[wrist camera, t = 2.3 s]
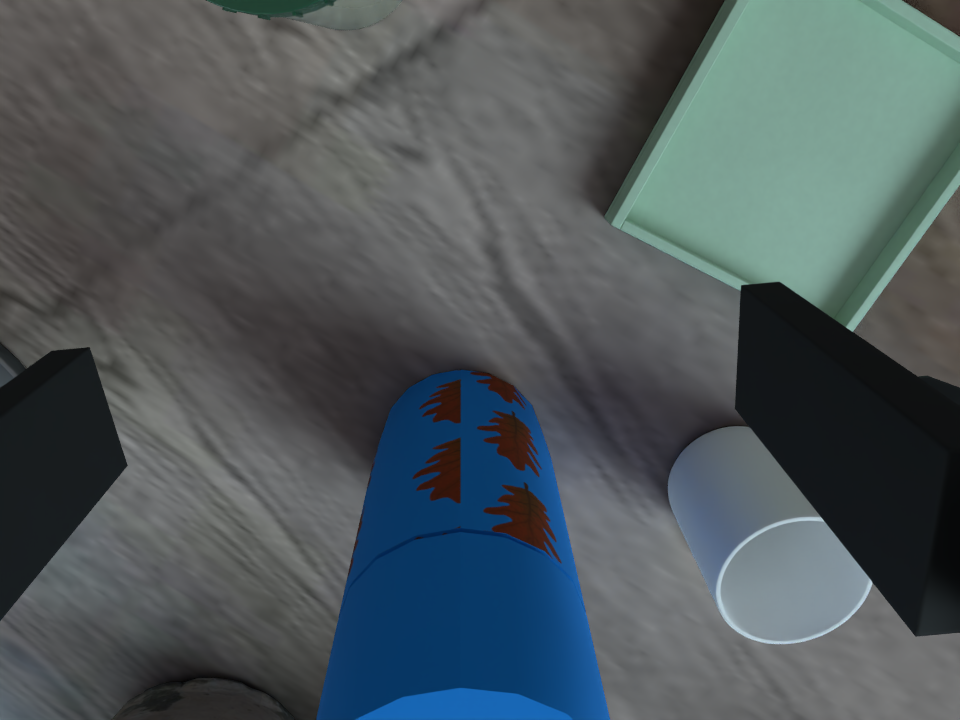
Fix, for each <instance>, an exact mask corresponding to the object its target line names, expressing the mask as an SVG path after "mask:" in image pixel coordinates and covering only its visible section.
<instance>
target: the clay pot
mask: <svg viewBox="0 0 960 720" xmlns="http://www.w3.org/2000/svg"><path fill="white" fill-rule="evenodd" d="M112 720H295V719H294V718H293V717H292V715H291V714H290V713H289V712H288V711H287V710H286V709H285V708H284V707H283V706H282V705H281V704H280V703H279V702H278V701H276V700H275V699H274V698H272V697H271V696H269V695H267V694H266V693H264V692H262V691H258V690H255V689H252V688H249V687H248V686H246V685H245V684H243V683H241V682H239V681H233V680H227V679H222V678H197V679H193V680H190V681H187V682H185V683H181V682H169V683H165V684H161V685H158V686H156V687H153V688H151V689H148V690H146V691H145V692H144V693H143V694H140V695H138V696H136V697H135V698H133V699H131V700H130V701H128V702H127V703H126V705H125V706H124V707H123V708H122V709H121V710H120V711H119V712H118V713H117V714H116V715H115V716H114V718H113V719H112Z"/></svg>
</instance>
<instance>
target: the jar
mask: <svg viewBox="0 0 960 720" xmlns="http://www.w3.org/2000/svg"><path fill="white" fill-rule="evenodd" d="M402 1H403V0H336V1H335V2H333V3H334V6H329V5H328V6H325V7H323V8H321V9H319V10H317V11H313V12H310V13H307V14H303V18H299V17H296V16H291V17H283V18H287V19H292V20H296V21H300V22H304V23H308V24H312V25H316V26H320V27H325V28H329V29H335V30H356V29H361V28H365V27H368V26H371V25H373V24H375V23H377V22H379V21H381V20H382V19H384V18H385V17H387V16H388V15H389V14H390V13H392V12H393V11H394V10H395V9H396V8H397V7H398V5H399V4H400V3H401V2H402Z"/></svg>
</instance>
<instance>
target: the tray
mask: <svg viewBox="0 0 960 720" xmlns="http://www.w3.org/2000/svg"><path fill="white" fill-rule="evenodd" d="M959 185H960V37H959V36H958V35H956V34H954V33H953V32H951V31H950V30H948V29H946V28H945V27H943V26H942V25H940V24H939V23H937V22H935V21H934V20H932V19H931V18H929V17H928V16H926V15H924V14H923V13H921V12H920V11H918V10H916V9H915V8H913V7H912V6H910V5H909V4H907V3H905V2H904V1H902V0H725V1H724V3H723V5H722V7H721V8H720V10H719V12H718V14H717V16H716V17H715V19H714V21H713V23H712V24H711V26H710V28H709V30H708V32H707V33H706V35H705V37H704V39H703V41H702V42H701V44H700V46H699V48H698V50H697V51H696V53H695V55H694V57H693V58H692V60H691V62H690V64H689V66H688V67H687V69H686V71H685V73H684V75H683V76H682V78H681V80H680V82H679V84H678V85H677V87H676V89H675V91H674V93H673V94H672V96H671V98H670V100H669V101H668V103H667V105H666V107H665V109H664V110H663V112H662V114H661V116H660V118H659V119H658V121H657V123H656V125H655V127H654V128H653V130H652V132H651V134H650V135H649V137H648V139H647V141H646V143H645V144H644V146H643V148H642V150H641V152H640V153H639V155H638V157H637V159H636V161H635V162H634V164H633V166H632V168H631V170H630V171H629V173H628V175H627V177H626V178H625V180H624V182H623V184H622V186H621V187H620V189H619V191H618V193H617V195H616V196H615V198H614V200H613V202H612V204H611V205H610V207H609V209H608V211H607V212H606V214H605V216H604V218H605V219H606V220H607V221H608V222H609V223H610V225H612V226H614V227H616V228H618V229H620V230H622V231H624V232H625V233H627V234H629V235H631V236H633V237H635V238H637V239H639V240H641V241H643V242H645V243H647V244H649V245H651V246H653V247H655V248H657V249H659V250H661V251H663V252H665V253H667V254H669V255H671V256H673V257H675V258H677V259H679V260H681V261H683V262H684V263H686V264H688V265H690V266H692V267H694V268H696V269H698V270H700V271H702V272H704V273H706V274H708V275H710V276H712V277H714V278H716V279H718V280H720V281H722V282H724V283H726V284H728V285H730V286H732V287H734V288H736V289H738V290H740V291H741V285H748V284H759V283H769V282H781V283H782V284H784V285H785V286H787V287H788V288H790V289H791V290H793V291H794V292H795V293H797V294H798V295H800V296H801V297H803V298H804V299H806V300H807V301H808V302H810V303H811V304H813V305H814V306H816V307H817V308H819V309H820V310H822V311H823V312H824V313H826V314H827V315H829V316H830V317H832V318H833V319H835V320H836V321H838V322H839V323H840V324H842V325H843V326H845V327H846V328H848V329H849V330H851V331H852V332H853V331H854V329H855V328H856V326H857V325H858V324H859V322H860V321H861V320H862V318H863V317H864V315H865V314H866V313H867V311H868V310H869V309H870V307H871V306H872V305H873V303H874V302H875V300H876V299H877V298H878V296H879V295H880V294H881V292H882V291H883V289H884V288H885V287H886V285H887V284H888V283H889V281H890V280H891V278H892V277H893V276H894V274H895V273H896V272H897V270H898V269H899V267H900V266H901V265H902V263H903V262H904V261H905V259H906V258H907V256H908V255H909V254H910V252H911V251H912V250H913V248H914V247H915V245H916V244H917V243H918V241H919V240H920V239H921V237H922V236H923V234H924V233H925V232H926V230H927V229H928V228H929V226H930V225H931V223H932V222H933V221H934V219H935V218H936V217H937V215H938V214H939V212H940V211H941V210H942V208H943V207H944V206H945V204H946V203H947V202H948V200H949V199H950V197H951V196H952V195H953V193H954V192H955V191H956V189H957V188H958V186H959Z"/></svg>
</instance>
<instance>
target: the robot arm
mask: <svg viewBox="0 0 960 720" xmlns="http://www.w3.org/2000/svg"><path fill="white" fill-rule="evenodd" d="M735 409H736V411H737V412H738V413H739V414H740V416H741V417H742V418H743V419H744V421H745V422H746V423H747V424H748V426H749V427H750V428H751V429H752V431H753V432H754V433H755V435H756V436H757V437H758V438H759V440H760V441H761V442H762V443H763V445H764V446H765V447H766V448H767V450H768V451H769V452H770V453H771V455H772V456H773V457H774V458H775V460H776V461H777V462H778V464H779V465H780V466H781V467H782V469H783V470H784V471H785V472H786V474H787V475H788V476H789V477H790V479H791V480H792V481H793V482H794V484H795V485H796V486H797V488H798V489H799V490H800V491H801V493H802V494H803V495H804V496H805V498H806V499H807V500H808V501H809V503H810V504H811V505H812V506H813V508H814V509H815V510H816V511H817V513H818V514H819V515H820V517H821V518H822V519H823V520H824V522H825V523H826V524H827V525H828V527H829V528H830V529H831V530H832V532H833V533H834V534H835V535H836V537H837V538H838V539H839V540H840V542H841V543H842V544H843V546H844V547H845V548H846V549H847V551H848V552H849V553H850V554H851V556H852V557H853V558H854V559H855V561H856V562H857V563H858V564H859V566H860V567H861V568H862V570H863V571H864V572H865V573H866V575H867V576H868V577H869V578H870V580H871V581H872V582H873V583H874V585H875V586H876V587H877V588H878V590H879V591H880V592H881V593H882V595H883V596H884V597H885V599H886V600H887V601H888V602H889V604H890V605H891V606H892V607H893V609H894V610H895V611H896V612H897V614H898V615H899V616H900V617H901V619H902V620H903V621H904V622H905V624H906V625H907V626H908V628H909V629H910V630H911V631H912V633H913V634H914V635H915V636H927V635H938V634H949V633H960V388H959V387H957V386H954V385H951V384H948V383H946V382H943V381H940V380H937V379H935V378H932V377H929V376H919V377H917V376H916V375H914V374H913V373H912V372H910V371H909V370H907V369H906V368H904V367H903V366H901V365H900V364H898V363H897V362H896V361H894V360H893V359H891V358H890V357H888V356H887V355H885V354H884V353H882V352H881V351H880V350H878V349H877V348H875V347H874V346H872V345H871V344H869V343H868V342H867V341H865V340H864V339H862V338H861V337H859V336H858V335H856V334H855V333H853V332H852V331H851V330H849V329H848V328H846V327H845V326H843V325H842V324H840V323H839V322H838V321H836V320H835V319H833V318H832V317H830V316H829V315H827V314H826V313H824V312H823V311H822V310H820V309H819V308H817V307H816V306H814V305H813V304H811V303H810V302H808V301H807V300H806V299H804V298H803V297H801V296H800V295H798V294H797V293H795V292H794V291H793V290H791V289H790V288H788V287H787V286H785V285H784V284H782V283H781V282H769V283H759V284H748V285H741V298H740V318H739V339H738V359H737V380H736V400H735ZM127 466H128V465H127V462H126V459H125V456H124V453H123V450H122V447H121V444H120V441H119V437H118V434H117V431H116V428H115V425H114V422H113V419H112V416H111V412H110V409H109V406H108V403H107V400H106V397H105V394H104V391H103V388H102V384H101V381H100V378H99V375H98V372H97V369H96V366H95V363H94V359H93V356H92V353H91V350H90V347H87V348H77V349H66V350H56V351H51V352H50V353H48V354H47V355H45V356H44V357H43V358H41V359H40V360H38V361H37V362H36V363H34V364H33V365H31V366H30V367H29V368H27V369H25V367H24V366H23V365H22V364H21V363H20V362H19V361H18V360H17V359H16V358H15V357H14V356H13V355H12V354H11V353H10V352H9V351H8V350H7V349H5V348H4V347H3V346H2V345H1V344H0V621H1V619H2V618H3V617H4V616H5V614H6V613H7V612H8V611H9V610H10V608H11V607H12V606H13V605H14V603H15V602H16V601H17V600H18V599H19V597H20V596H21V595H22V594H23V593H24V591H25V590H26V589H27V588H28V586H29V585H30V584H31V583H32V582H33V580H34V579H35V578H36V577H37V575H38V574H39V573H40V572H41V571H42V569H43V568H44V567H45V566H46V564H47V563H48V562H49V561H50V560H51V558H52V557H53V556H54V555H55V553H56V552H57V551H58V550H59V549H60V547H61V546H62V545H63V544H64V542H65V541H66V540H67V539H68V538H69V536H70V535H71V534H72V533H73V532H74V530H75V529H76V528H77V527H78V525H79V524H80V523H81V522H82V521H83V519H84V518H85V517H86V516H87V514H88V513H89V512H90V511H91V510H92V508H93V507H94V506H95V505H96V503H97V502H98V501H99V500H100V499H101V497H102V496H103V495H104V494H105V492H106V491H107V490H108V489H109V488H110V486H111V485H112V484H113V483H114V481H115V480H116V479H117V478H118V477H119V475H120V474H121V473H122V472H123V470H124V469H125V468H126V467H127Z"/></svg>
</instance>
